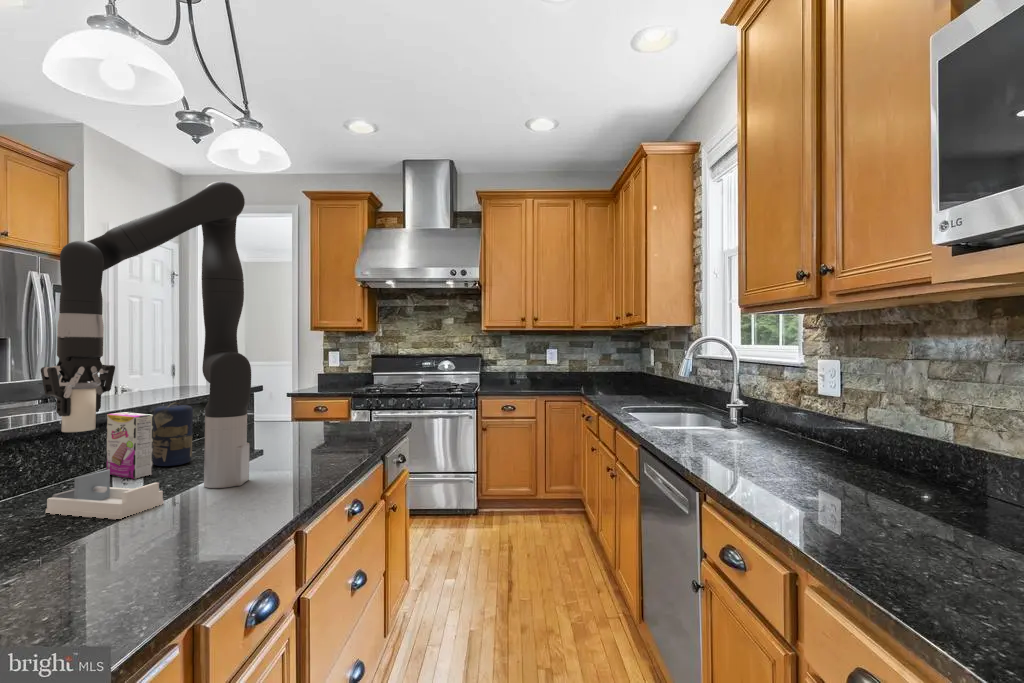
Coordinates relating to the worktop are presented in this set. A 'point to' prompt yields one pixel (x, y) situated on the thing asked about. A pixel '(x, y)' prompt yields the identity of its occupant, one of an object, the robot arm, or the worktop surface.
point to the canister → (172, 435)
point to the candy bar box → (129, 444)
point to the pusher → (93, 486)
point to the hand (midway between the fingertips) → (79, 413)
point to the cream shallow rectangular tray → (107, 503)
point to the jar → (81, 408)
